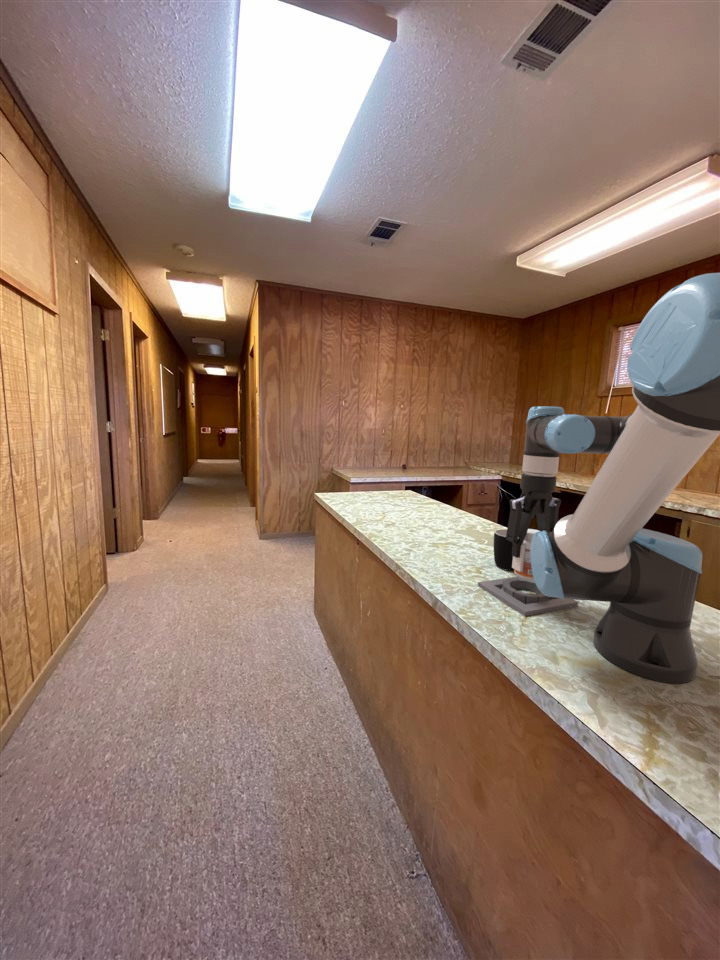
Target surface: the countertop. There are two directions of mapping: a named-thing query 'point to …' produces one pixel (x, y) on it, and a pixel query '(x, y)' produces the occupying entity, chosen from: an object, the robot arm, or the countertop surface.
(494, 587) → the grey plate with hole
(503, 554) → the mug
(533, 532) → the pill bottle
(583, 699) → the countertop surface
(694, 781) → the countertop surface
